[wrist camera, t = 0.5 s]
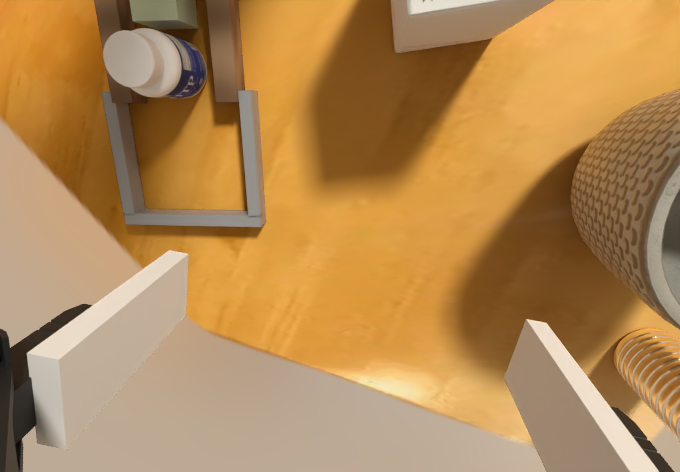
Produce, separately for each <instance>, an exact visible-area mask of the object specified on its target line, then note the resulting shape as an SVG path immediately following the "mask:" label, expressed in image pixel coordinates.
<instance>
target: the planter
mask: <svg viewBox="0 0 680 472" xmlns="http://www.w3.org/2000/svg"><path fill="white" fill-rule="evenodd" d="M571 209H572V214H573V218H574V222H575V225H576V227H577V229H578V231H579V233H580V235H581V237H582V239H583V240H584V242H585V243H586V244H587V246H588V247H589V248H590V250H591V251H592V253H593V254H594V255H595V256H596V257H597V258H598V260H599V261H600V262H601V263H602V264H603V265H604V266H605V267H606V268H607V269H608V270H609V271H610V272H611V273H612V274H613V275H614V276H615V277H617V278H618V279H619V280H620V281H621V282H622V283H623V284H624V285H625V286H626V287H628V288H629V289H630V290H631V291H632V292H633V293H634V294H635V295H637V296H638V297H639V298H640V299H641V300H642V301H643V302H644V303H645V304H647V305H648V306H649V307H650V308H651V309H652V310H653V311H654V312H656V313H657V314H658V315H659V316H661V317H662V318H663V319H664V320H666V321H667V322H669V323H670V324H672V325H673V326H675V327H677V328H678V329H680V89H678V90H674V91H671V92H668V93H665V94H662V95H659V96H656V97H654V98H651V99H649V100H646V101H644V102H642V103H640V104H638V105H636V106H634V107H632V108H631V109H629V110H627V111H625V112H624V113H622V114H621V115H619V116H618V117H617V118H615V119H614V120H613V121H611V122H610V123H609V124H608V125H607V126H606V127H605V128H604V129H603V130H602V131H601V132H599V133H598V134H597V136H596V137H595V138H594V139H593V141H592V142H591V143H590V144H589V145H588V147H587V149H586V150H585V152H584V153H583V155H582V157H581V158H580V161H579V163H578V165H577V168H576V170H575V173H574V177H573V181H572V187H571Z"/></svg>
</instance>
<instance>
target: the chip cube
mask: <svg viewBox="0 0 680 472" xmlns="http://www.w3.org/2000/svg"><path fill="white" fill-rule="evenodd" d="M129 1H130V7H131V14H132V20H133V22H136V23H139V24H142V25H145V26H148V27H151V28H154V29H157V30H164V29H198V21H197V12H196V2H195V0H129Z"/></svg>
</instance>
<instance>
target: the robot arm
mask: <svg viewBox="0 0 680 472" xmlns="http://www.w3.org/2000/svg"><path fill="white" fill-rule="evenodd" d="M187 276H188V254H187V253H181V252H176V251H171V250H169V251H167V252H166V253H165V254H163V255H162V256H160V257H159V258H158V259H156V260H155V261H154V262H152V263H151V264H149V265H148V266H147V267H145V268H144V269H142V270H141V271H140V272H138V273H137V274H136V275H134V276H133V277H131V278H130V279H129V280H127V281H126V282H124V283H123V284H122V285H120V286H119V287H118V288H116V289H115V290H113V291H112V292H111V293H110V294H108V295H106V296H105V297H104V298H103V299H101V300H100V301H98V302H97V303H96V304H94V305H88V304H82V305H79V306H77V307H74V308H71V309H69V310H66V311H64V312H63V313H61V314H60V315H58V316H57V317H56V318H54V319H52V320H51V322H48V323H47V324H46V325H44V326H42V327H41V328H40V329H39V330H36V331H35V332H33V333H32V334H30V335H29V336H27V337H26V338H24V339H23V340H22V341H20V342H18V343H17V344H16V345H14V346H13V347H11V348H10V345H9V338H8V335H7V333H6V331H4V330H2V329H0V472H23V443H22V438H23V437H24V436H25V435H26V434H27V433H28V432H29V431H30V430H31V429H32V428H33V427H34V426H35V428H36V437H37V443H38V444H42V445H47V446H52V447H56V448H61V449H67V448H68V447H69V446H70V445H71V444H72V443H73V442H74V441H75V439H76V438H77V437H78V436H79V435H80V434H81V433H82V432H83V430H84V429H85V428H86V427H87V426H88V425H89V424H90V423H91V421H92V420H93V419H94V418H95V417H96V416H97V415H98V414H99V412H100V411H101V410H102V409H103V408H104V407H105V406H106V404H107V403H108V402H109V401H110V400H111V399H112V398H113V397H114V395H115V394H116V393H117V392H118V391H119V390H120V389H121V388H122V386H123V385H124V384H125V383H126V382H127V381H128V380H129V378H131V376H132V375H133V374H134V373H135V372H136V371H137V370H138V368H139V367H140V366H141V365H142V364H143V363H144V362H145V361H146V360H147V358H148V357H149V356H150V355H151V354H152V353H153V352H154V350H155V349H156V348H157V347H158V346H159V345H160V344H161V343H162V342H163V340H164V339H165V338H166V337H167V336H168V335H169V334H170V333H171V331H172V330H173V329H174V328H175V327H176V326H177V325H178V323H179V322H180V321H181V320H182V319H183V318H184V317H185V316H186V299H187ZM504 379H505V381H506V384H507V386H508V388H509V390H510V392H511V395H512V397H513V399H514V401H515V403H516V406H517V408H518V410H519V412H520V414H521V417H522V419H523V421H524V423H525V425H526V427H527V430H528V432H529V434H530V436H531V438H532V441H533V443H534V445H535V447H536V449H537V452H538V453H539V456H540V458H541V460H542V463H543V465H544V467H545V469H546V471H547V472H674V471H673V470H672V469H671V467H670V466H669V465H668V463H667V462H666V461H665V460H664V458H663V457H662V456H661V455H660V454H659V453H657V450H656V449H655V447H654V446H653V445H652V443H651V442H650V441H648V440H647V437H646V436H645V435H644V433H643V432H642V431H641V430H640V428H639V427H638V426H637V425H636V423H635V422H634V421H632V420H631V419H630V418H629V417H628V416H626V415H625V414H624V413H623V412H622V411H620V410H619V409H618V408H614V407H610V406H609V405H608V403H607V402H606V401H605V399H604V398H603V397H602V396H601V394H600V393H599V392H598V390H597V389H596V388H595V386H594V385H593V384H592V382H591V381H590V380H589V378H588V377H587V376H586V374H585V373H584V372H583V370H582V369H581V368H580V367H579V365H578V364H577V363H576V361H575V360H574V359H573V357H572V356H571V355H570V353H569V352H568V351H567V349H566V348H565V347H564V345H563V344H562V343H561V341H560V340H559V339H558V338H557V336H556V335H555V334H554V332H553V331H552V330H551V328H550V327H549V326H548V324H547V323H545V322H539V321H534V320H529V319H526V321H525V323H524V326H523V329H522V331H521V334H520V337H519V339H518V342H517V345H516V347H515V350H514V353H513V355H512V358H511V361H510V363H509V366H508V368H507V371H506V374H505V376H504Z"/></svg>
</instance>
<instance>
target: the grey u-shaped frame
mask: <svg viewBox="0 0 680 472" xmlns="http://www.w3.org/2000/svg"><path fill="white" fill-rule="evenodd" d="M238 95H239V107H240V119H241V132H242V144H243V157H244V169H245V181H246V194H247V206H248V210H189V209H145V204H144V198H143V192H142V185H141V179H140V173H139V167H138V161H137V155H136V149H135V143H134V137H133V130H132V124H131V118H130V112H129V106H128V103H112V99H111V93H110V92H102V98H103V103H104V109H105V114H106V120H107V125H108V131H109V136H110V142H111V147H112V153H113V158H114V164H115V169H116V175H117V180H118V186H119V191H120V196H121V202H122V207H123V213H124V218H125V224H126V225H176V226H226V227H261V226H262V225H263V224H264V223H265V222H266V214H265V199H264V184H263V170H262V155H261V140H260V125H259V110H258V95H257V91H251V90H249V91H238Z"/></svg>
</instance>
